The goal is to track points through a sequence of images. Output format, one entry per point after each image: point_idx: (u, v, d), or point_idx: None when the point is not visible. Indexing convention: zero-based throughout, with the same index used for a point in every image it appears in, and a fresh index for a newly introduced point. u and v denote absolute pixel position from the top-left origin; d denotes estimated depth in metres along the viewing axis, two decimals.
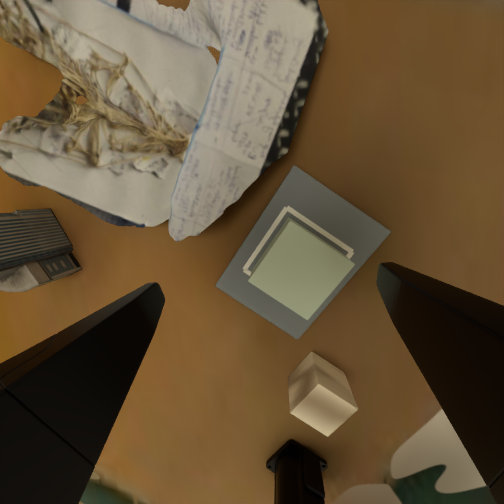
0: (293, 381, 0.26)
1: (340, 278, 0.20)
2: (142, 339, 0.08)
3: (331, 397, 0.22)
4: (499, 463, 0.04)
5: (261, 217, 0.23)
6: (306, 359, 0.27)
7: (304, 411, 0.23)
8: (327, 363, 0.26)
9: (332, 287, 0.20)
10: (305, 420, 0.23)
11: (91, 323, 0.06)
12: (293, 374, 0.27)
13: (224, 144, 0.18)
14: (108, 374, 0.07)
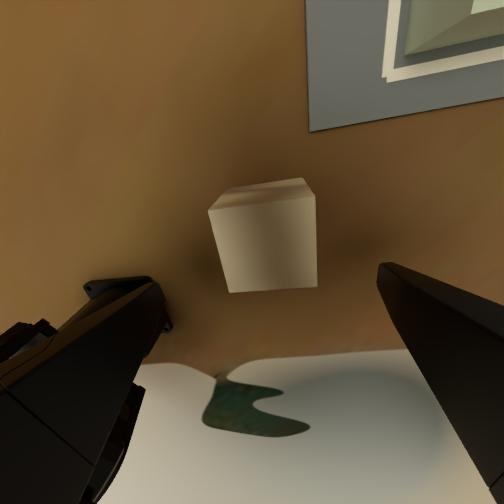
0: (238, 191, 0.13)
1: None
2: (142, 339, 0.08)
3: (305, 238, 0.10)
4: (499, 463, 0.04)
5: None
6: (285, 181, 0.14)
7: (234, 228, 0.11)
8: None
9: None
10: (221, 244, 0.11)
11: (91, 323, 0.06)
12: (242, 187, 0.14)
13: None
14: (108, 374, 0.07)
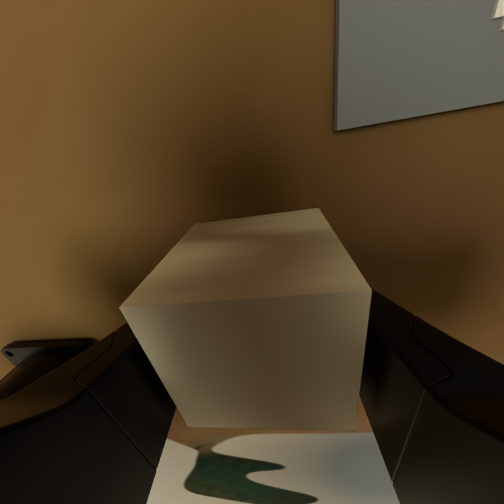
0: (207, 236, 0.07)
1: None
2: None
3: (338, 364, 0.05)
4: (395, 459, 0.05)
5: None
6: (290, 215, 0.08)
7: (182, 340, 0.05)
8: None
9: None
10: (160, 363, 0.05)
11: None
12: (217, 225, 0.08)
13: None
14: None
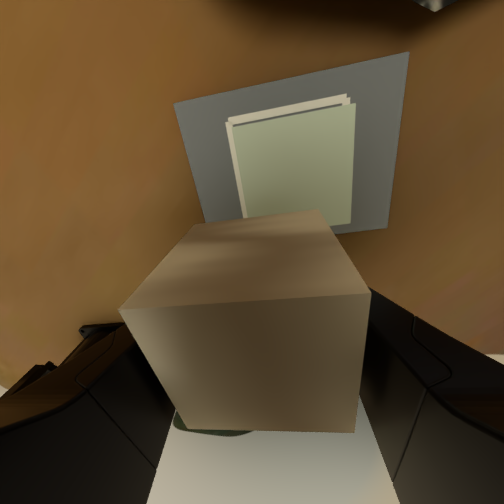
0: (207, 238, 0.07)
1: None
2: None
3: (338, 366, 0.05)
4: (395, 459, 0.05)
5: (310, 76, 0.14)
6: (289, 216, 0.08)
7: (181, 342, 0.05)
8: None
9: None
10: (160, 365, 0.05)
11: None
12: (217, 227, 0.08)
13: None
14: None
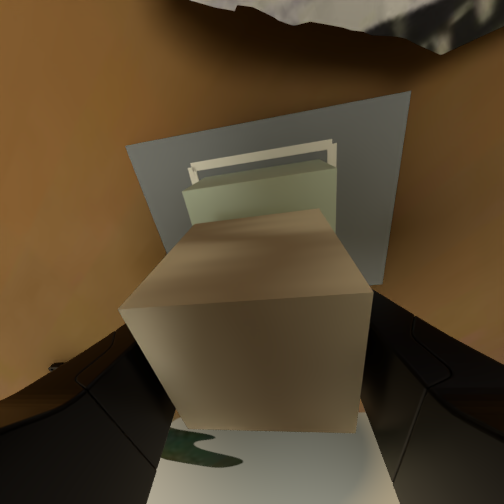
0: (207, 237, 0.07)
1: None
2: None
3: (339, 366, 0.05)
4: (395, 459, 0.05)
5: (287, 118, 0.12)
6: (290, 216, 0.08)
7: (182, 341, 0.05)
8: None
9: None
10: (160, 365, 0.05)
11: None
12: (217, 226, 0.08)
13: None
14: None
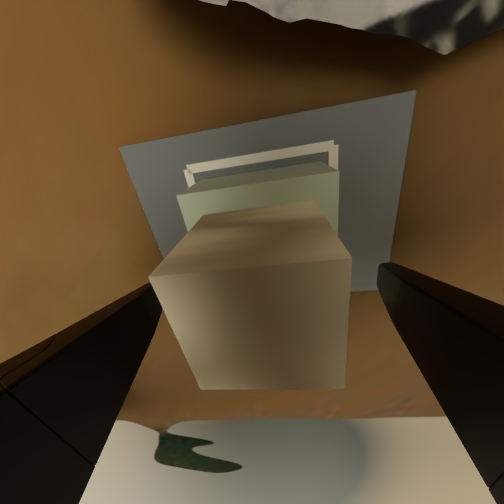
0: (216, 224, 0.08)
1: None
2: (142, 339, 0.08)
3: (328, 324, 0.06)
4: (499, 463, 0.04)
5: (286, 119, 0.11)
6: (288, 206, 0.09)
7: (199, 305, 0.06)
8: None
9: None
10: (179, 327, 0.06)
11: (91, 323, 0.06)
12: (224, 216, 0.09)
13: None
14: (108, 374, 0.07)
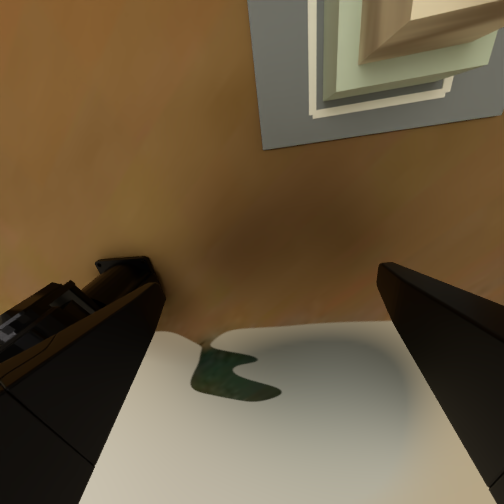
0: None
1: (447, 67, 0.11)
2: (142, 339, 0.08)
3: None
4: (500, 464, 0.04)
5: None
6: None
7: None
8: None
9: (422, 70, 0.11)
10: None
11: (91, 323, 0.06)
12: None
13: None
14: (108, 374, 0.07)
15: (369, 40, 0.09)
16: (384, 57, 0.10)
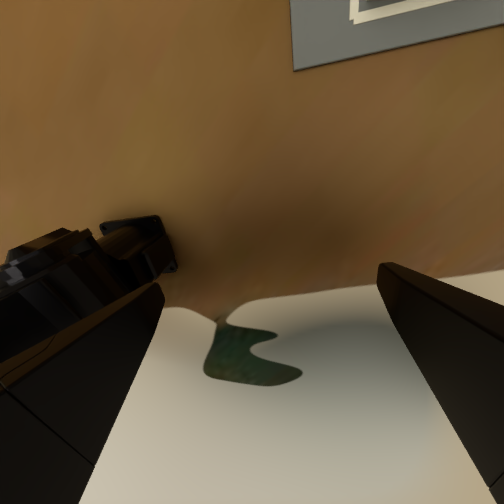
0: None
1: None
2: (142, 339, 0.08)
3: None
4: (499, 463, 0.04)
5: None
6: None
7: None
8: None
9: None
10: None
11: (91, 323, 0.06)
12: None
13: None
14: (108, 374, 0.07)
15: None
16: None
